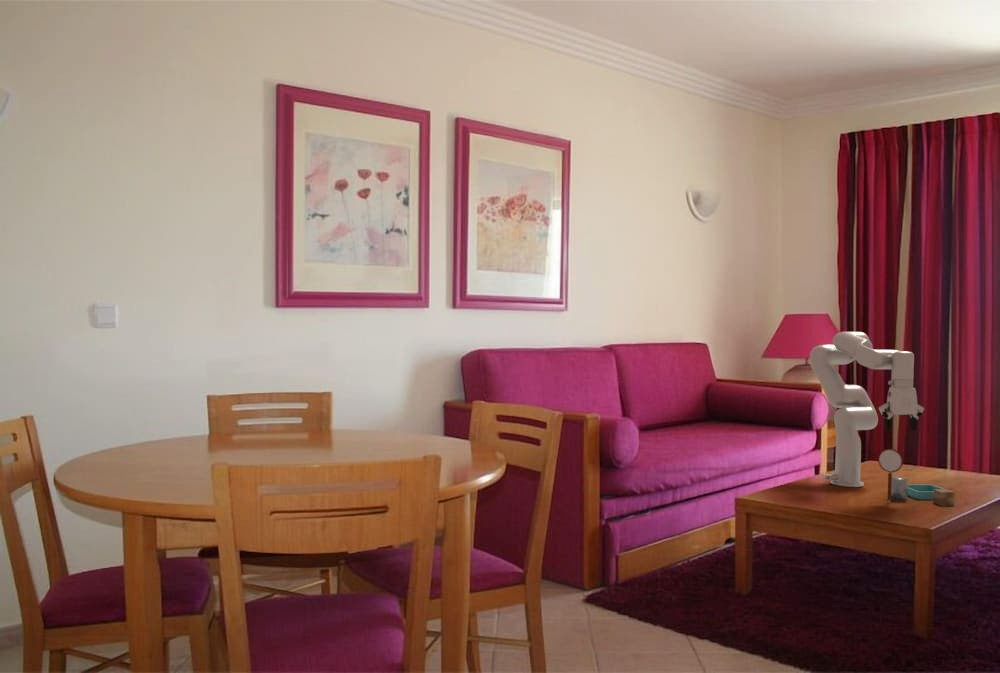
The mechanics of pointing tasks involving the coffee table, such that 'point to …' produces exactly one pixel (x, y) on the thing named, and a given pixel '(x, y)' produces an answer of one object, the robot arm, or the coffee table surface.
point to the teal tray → (922, 491)
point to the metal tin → (899, 488)
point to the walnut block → (943, 497)
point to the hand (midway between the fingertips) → (900, 429)
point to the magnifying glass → (890, 465)
